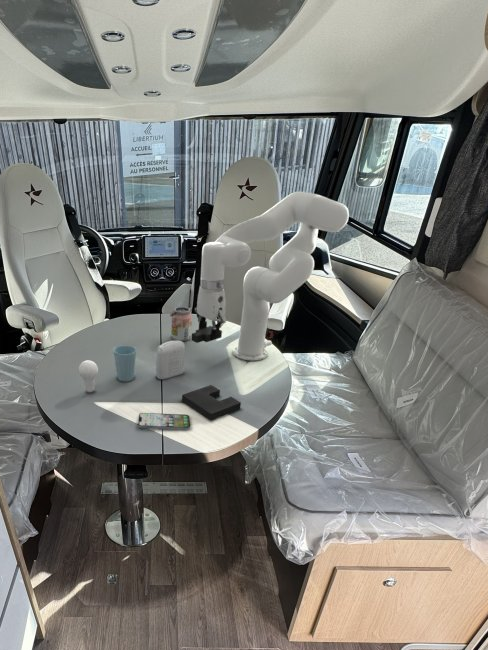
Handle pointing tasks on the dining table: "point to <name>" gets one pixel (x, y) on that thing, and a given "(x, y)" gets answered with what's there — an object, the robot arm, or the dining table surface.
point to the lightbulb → (88, 374)
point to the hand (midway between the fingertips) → (208, 335)
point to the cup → (125, 362)
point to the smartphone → (164, 421)
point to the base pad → (210, 402)
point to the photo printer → (170, 359)
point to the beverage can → (181, 324)
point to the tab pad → (204, 334)
